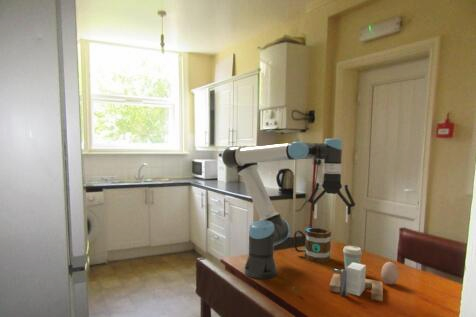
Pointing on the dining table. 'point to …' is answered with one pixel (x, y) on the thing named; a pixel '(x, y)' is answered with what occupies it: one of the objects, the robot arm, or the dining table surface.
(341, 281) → the hook post
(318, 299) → the dining table surface
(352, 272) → the small box
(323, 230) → the mug
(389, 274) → the egg
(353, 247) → the coffee cup
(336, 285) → the tan arch frame
